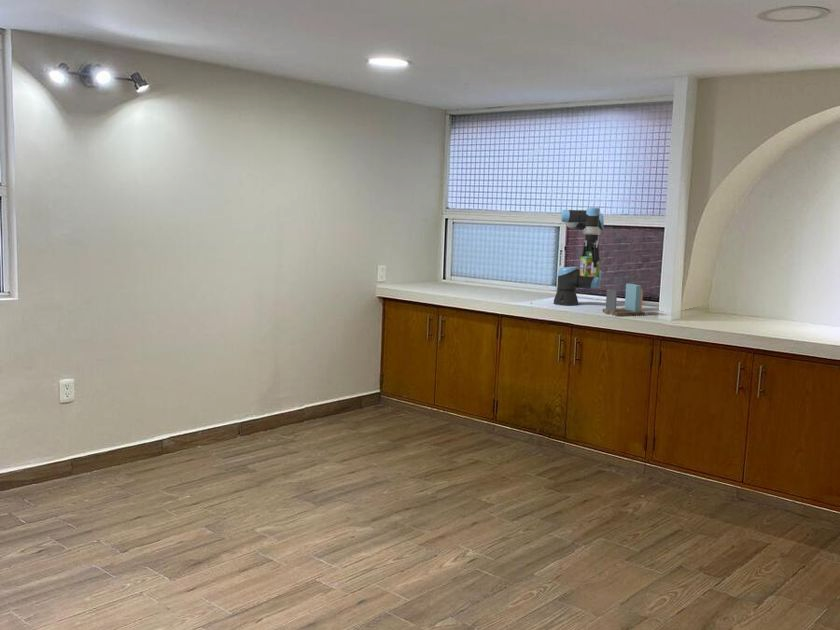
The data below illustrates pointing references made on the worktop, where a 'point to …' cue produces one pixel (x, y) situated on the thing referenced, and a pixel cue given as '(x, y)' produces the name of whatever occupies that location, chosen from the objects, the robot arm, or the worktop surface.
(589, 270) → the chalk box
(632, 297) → the books
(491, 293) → the worktop surface
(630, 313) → the shelf
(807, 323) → the worktop surface
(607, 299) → the bookend
